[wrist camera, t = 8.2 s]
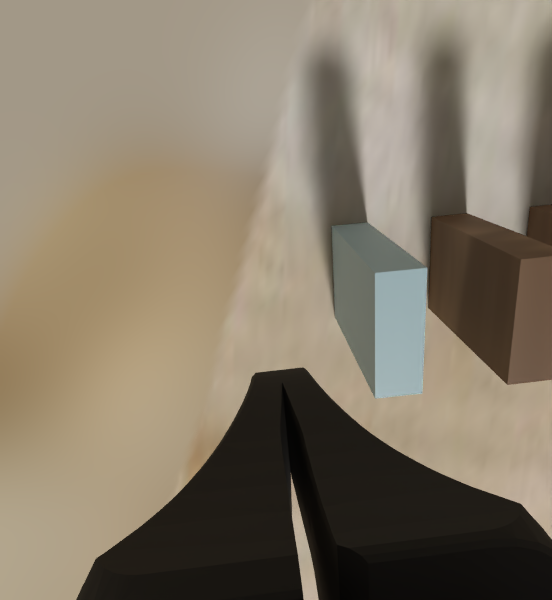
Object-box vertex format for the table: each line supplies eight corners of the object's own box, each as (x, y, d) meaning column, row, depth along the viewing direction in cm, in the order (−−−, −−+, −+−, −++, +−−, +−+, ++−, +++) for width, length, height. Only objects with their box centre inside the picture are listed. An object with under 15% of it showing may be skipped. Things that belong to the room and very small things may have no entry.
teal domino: (367, 222, 20) (427, 268, 14) (368, 313, 22) (422, 393, 15) (331, 225, 20) (374, 272, 14) (334, 317, 22) (375, 398, 15)
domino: (466, 213, 20) (572, 253, 14) (461, 304, 22) (553, 379, 15) (431, 216, 20) (520, 259, 14) (428, 308, 22) (507, 384, 15)
